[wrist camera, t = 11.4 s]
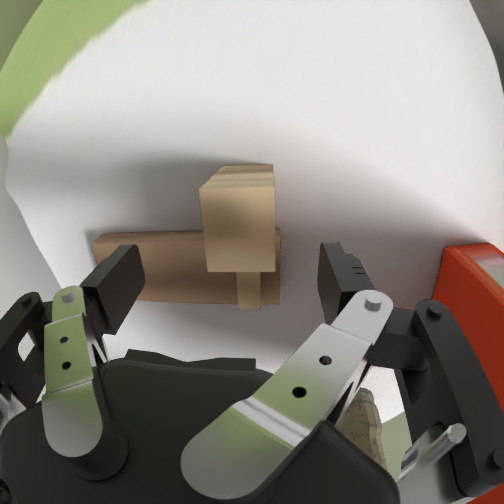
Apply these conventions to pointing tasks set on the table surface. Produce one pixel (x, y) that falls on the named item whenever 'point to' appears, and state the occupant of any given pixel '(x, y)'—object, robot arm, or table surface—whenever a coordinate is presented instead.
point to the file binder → (478, 314)
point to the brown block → (184, 268)
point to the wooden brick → (240, 226)
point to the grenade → (364, 426)
